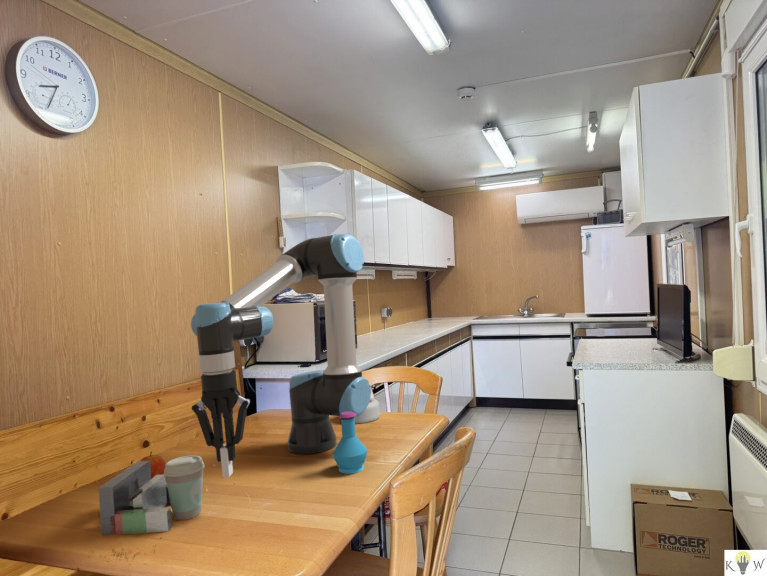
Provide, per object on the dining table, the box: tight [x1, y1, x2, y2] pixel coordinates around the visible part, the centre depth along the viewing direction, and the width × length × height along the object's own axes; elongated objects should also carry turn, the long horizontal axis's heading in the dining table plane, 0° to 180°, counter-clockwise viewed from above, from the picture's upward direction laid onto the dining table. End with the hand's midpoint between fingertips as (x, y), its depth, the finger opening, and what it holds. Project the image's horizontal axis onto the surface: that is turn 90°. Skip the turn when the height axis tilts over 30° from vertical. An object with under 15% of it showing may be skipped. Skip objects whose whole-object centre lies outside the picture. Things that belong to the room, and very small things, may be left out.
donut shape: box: [339, 397, 381, 425], centre depth 185 cm, size 15×15×7 cm
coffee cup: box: [164, 455, 205, 521], centre depth 112 cm, size 9×8×12 cm
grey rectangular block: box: [127, 474, 168, 510], centre depth 111 cm, size 9×14×7 cm, turn 179°
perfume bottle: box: [332, 411, 368, 474], centre depth 133 cm, size 9×9×15 cm
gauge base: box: [98, 460, 173, 536], centre depth 112 cm, size 14×16×10 cm
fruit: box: [139, 451, 166, 479], centre depth 134 cm, size 7×7×8 cm
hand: (227, 474), depth 112 cm, fingers closed
